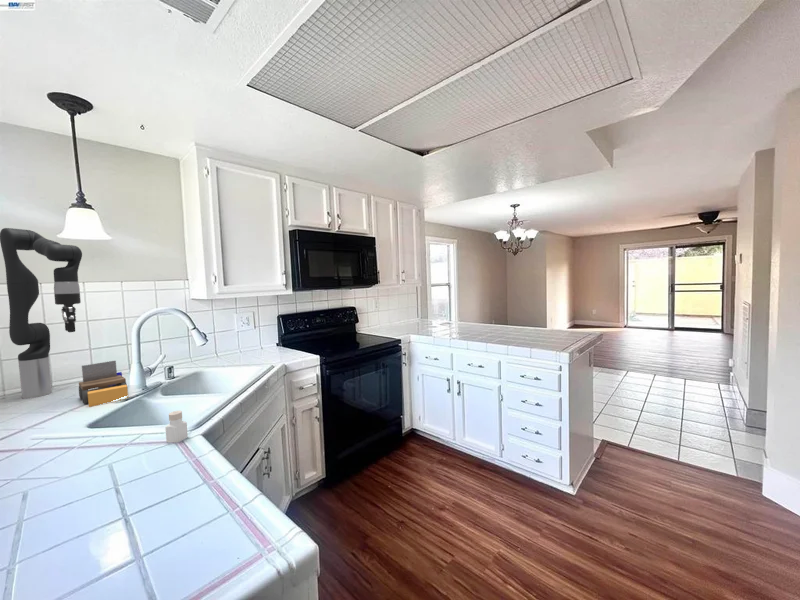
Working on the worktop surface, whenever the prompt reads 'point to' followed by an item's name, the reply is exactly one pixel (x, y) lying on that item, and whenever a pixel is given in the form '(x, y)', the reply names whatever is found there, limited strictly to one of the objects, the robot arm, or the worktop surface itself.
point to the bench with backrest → (99, 378)
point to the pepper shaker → (176, 428)
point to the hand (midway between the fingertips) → (70, 331)
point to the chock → (106, 395)
